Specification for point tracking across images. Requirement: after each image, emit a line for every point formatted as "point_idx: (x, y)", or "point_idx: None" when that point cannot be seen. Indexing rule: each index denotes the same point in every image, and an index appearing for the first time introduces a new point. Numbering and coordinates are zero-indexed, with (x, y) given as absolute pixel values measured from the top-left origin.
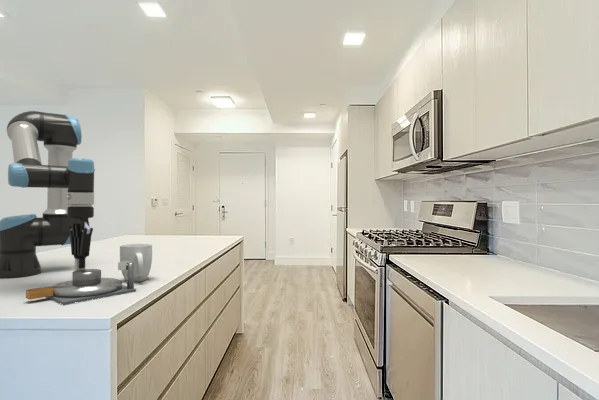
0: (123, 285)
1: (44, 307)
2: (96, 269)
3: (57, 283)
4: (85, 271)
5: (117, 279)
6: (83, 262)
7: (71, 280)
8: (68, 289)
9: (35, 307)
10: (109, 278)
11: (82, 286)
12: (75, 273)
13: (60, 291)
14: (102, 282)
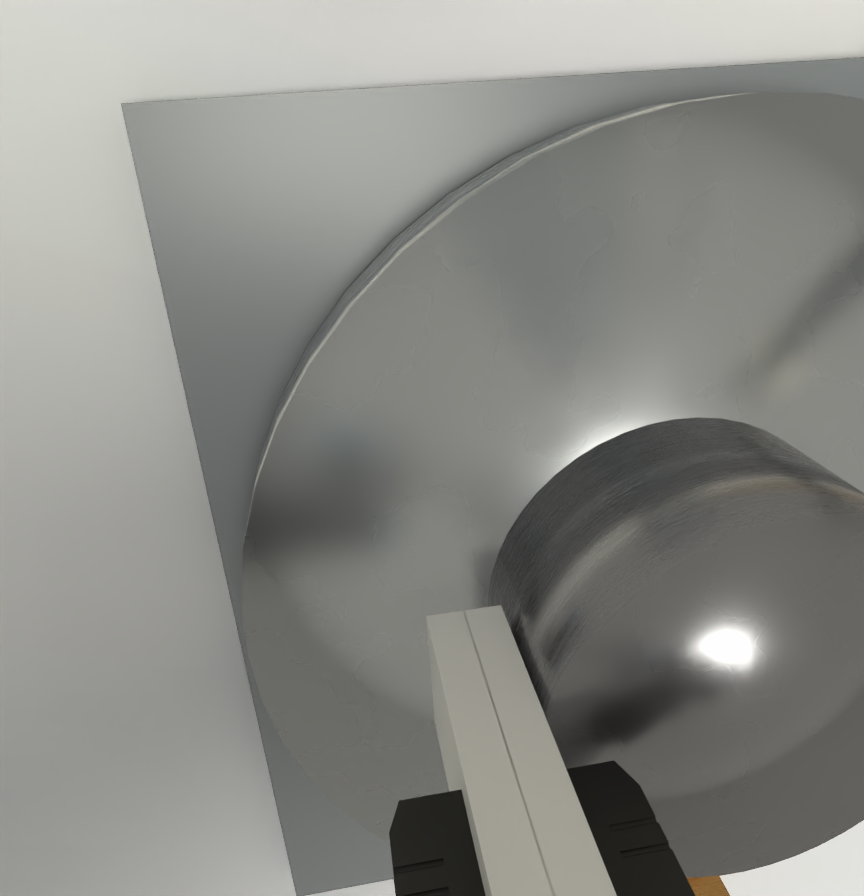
0: (836, 68)
1: (857, 843)
2: (742, 567)
3: (362, 824)
4: (770, 740)
5: (757, 121)
6: (678, 889)
7: (264, 688)
8: None
9: (802, 881)
10: (548, 199)
11: None
12: (793, 854)
13: None
14: (768, 408)
